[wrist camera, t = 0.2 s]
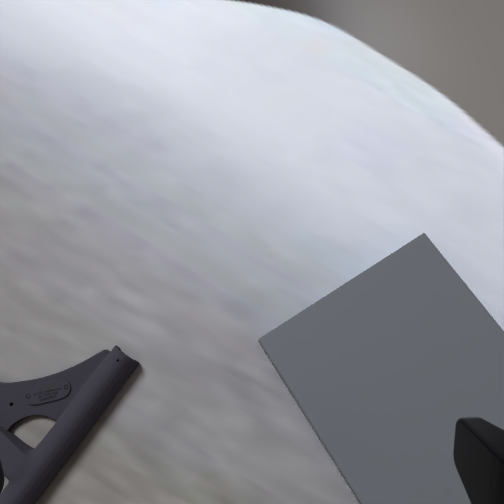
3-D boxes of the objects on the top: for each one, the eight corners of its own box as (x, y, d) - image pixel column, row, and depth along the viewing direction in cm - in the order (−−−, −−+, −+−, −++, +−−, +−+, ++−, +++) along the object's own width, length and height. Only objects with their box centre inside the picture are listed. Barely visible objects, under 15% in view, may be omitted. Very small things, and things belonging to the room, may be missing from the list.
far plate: (579, 444, 22) (597, 446, 21) (407, 579, 20) (415, 590, 19) (416, 239, 25) (424, 232, 24) (258, 341, 24) (258, 339, 23)
